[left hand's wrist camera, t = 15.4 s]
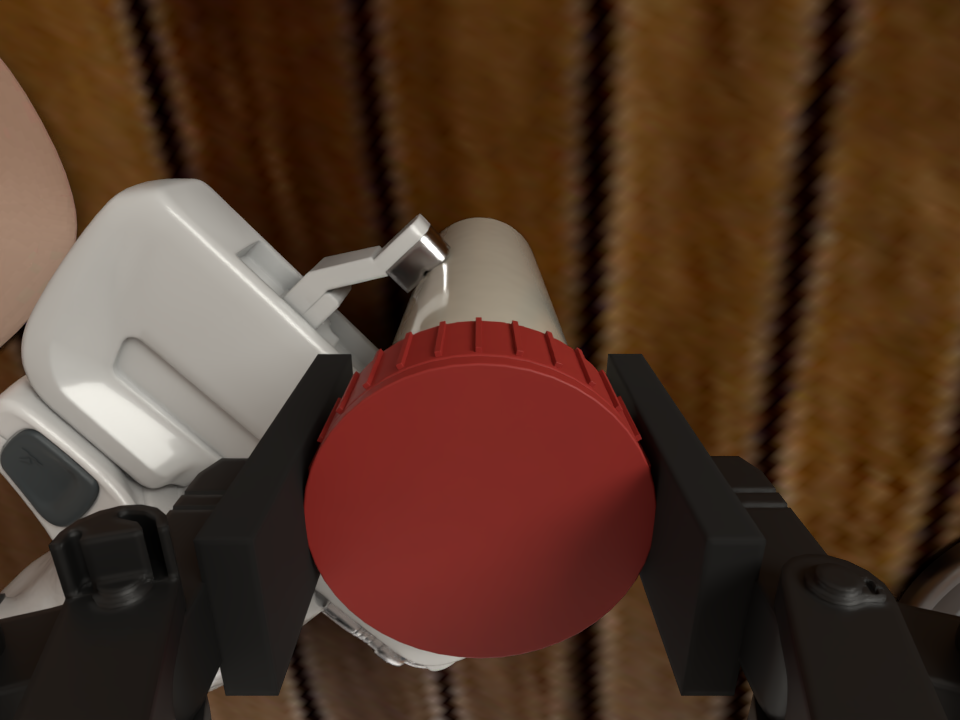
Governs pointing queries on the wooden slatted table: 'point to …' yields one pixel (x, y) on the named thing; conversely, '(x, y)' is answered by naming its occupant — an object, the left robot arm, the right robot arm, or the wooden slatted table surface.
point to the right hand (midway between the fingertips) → (499, 301)
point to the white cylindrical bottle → (482, 282)
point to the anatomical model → (28, 207)
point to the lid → (479, 492)
